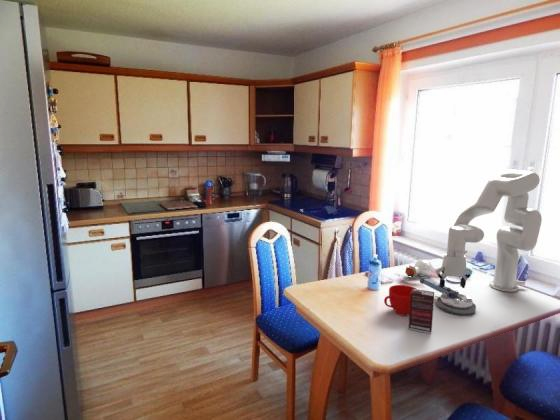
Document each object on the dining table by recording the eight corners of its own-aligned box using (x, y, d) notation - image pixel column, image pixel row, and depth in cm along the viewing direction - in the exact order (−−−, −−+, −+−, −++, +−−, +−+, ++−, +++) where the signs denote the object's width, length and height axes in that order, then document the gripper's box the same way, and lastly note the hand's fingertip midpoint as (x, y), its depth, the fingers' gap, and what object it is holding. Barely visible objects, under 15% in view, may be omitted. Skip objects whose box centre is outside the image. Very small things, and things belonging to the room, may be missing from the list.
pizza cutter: (432, 283, 189) (433, 274, 188) (479, 306, 163) (480, 296, 162) (411, 287, 184) (412, 277, 184) (456, 311, 159) (457, 300, 158)
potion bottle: (431, 277, 208) (411, 284, 202) (421, 263, 213) (400, 270, 208) (439, 267, 201) (418, 274, 195) (428, 253, 207) (407, 260, 201)
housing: (465, 299, 175) (465, 295, 175) (482, 315, 159) (483, 311, 159) (431, 299, 175) (431, 295, 175) (445, 315, 160) (445, 310, 159)
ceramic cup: (374, 310, 165) (375, 288, 163) (404, 303, 171) (405, 283, 169) (393, 323, 153) (395, 300, 151) (425, 315, 160) (427, 293, 158)
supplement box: (431, 328, 149) (435, 291, 146) (431, 334, 144) (434, 296, 141) (409, 324, 152) (411, 287, 149) (407, 329, 148) (410, 292, 145)
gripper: (470, 250, 178) (466, 284, 182) (434, 250, 179) (431, 283, 182) (478, 255, 171) (474, 290, 174) (440, 255, 171) (437, 290, 174)
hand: (452, 286), depth 178 cm, fingers open, 9 cm apart
